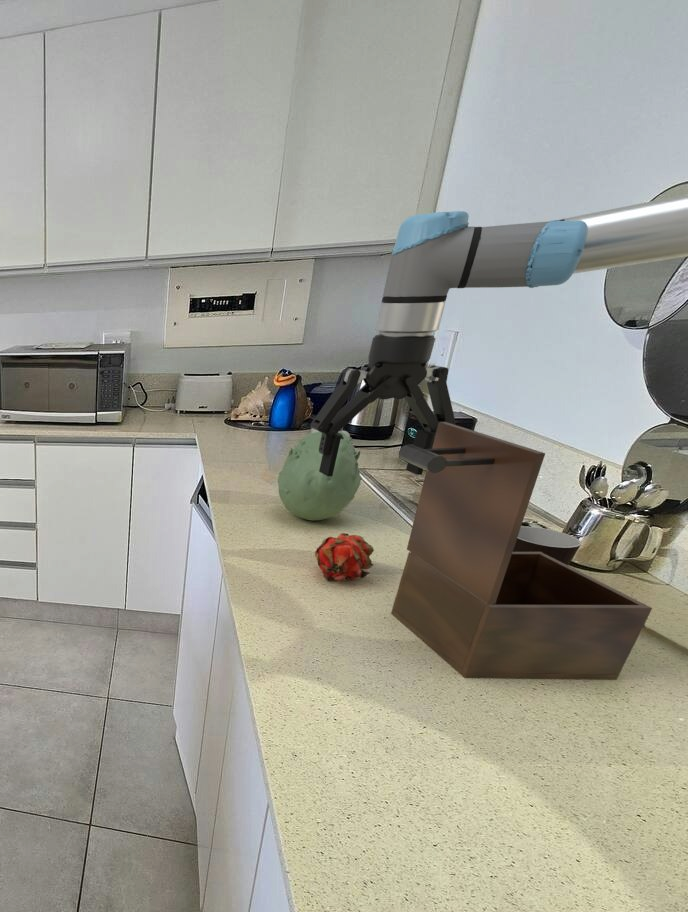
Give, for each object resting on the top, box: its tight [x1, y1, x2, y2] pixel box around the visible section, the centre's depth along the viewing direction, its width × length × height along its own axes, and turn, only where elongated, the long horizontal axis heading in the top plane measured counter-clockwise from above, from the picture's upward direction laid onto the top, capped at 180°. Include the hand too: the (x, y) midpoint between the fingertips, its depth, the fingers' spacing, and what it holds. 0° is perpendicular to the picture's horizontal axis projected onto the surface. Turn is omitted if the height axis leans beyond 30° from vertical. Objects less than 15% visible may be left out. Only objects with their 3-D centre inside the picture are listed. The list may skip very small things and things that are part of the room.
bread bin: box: [390, 551, 653, 680], centre depth 81 cm, size 19×17×11 cm
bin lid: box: [398, 422, 546, 604], centre depth 76 cm, size 20×17×9 cm
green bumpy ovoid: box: [277, 427, 363, 521], centre depth 125 cm, size 16×19×20 cm
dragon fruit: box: [314, 532, 375, 582], centre depth 102 cm, size 8×8×12 cm
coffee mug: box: [513, 525, 582, 566], centre depth 96 cm, size 12×9×10 cm
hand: (369, 473), depth 93 cm, fingers open, 13 cm apart
